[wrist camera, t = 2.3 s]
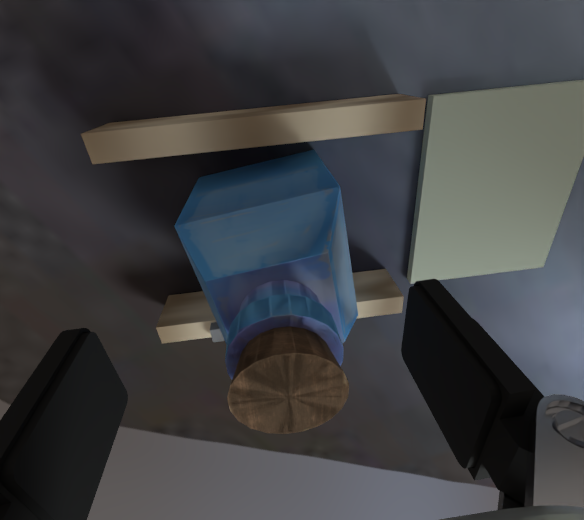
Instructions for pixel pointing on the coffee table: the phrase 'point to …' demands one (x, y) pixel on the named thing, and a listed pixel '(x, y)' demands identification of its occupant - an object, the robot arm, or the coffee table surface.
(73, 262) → the coffee table surface
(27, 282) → the coffee table surface
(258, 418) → the perfume bottle
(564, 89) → the mat
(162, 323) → the cradle
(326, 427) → the coffee table surface
